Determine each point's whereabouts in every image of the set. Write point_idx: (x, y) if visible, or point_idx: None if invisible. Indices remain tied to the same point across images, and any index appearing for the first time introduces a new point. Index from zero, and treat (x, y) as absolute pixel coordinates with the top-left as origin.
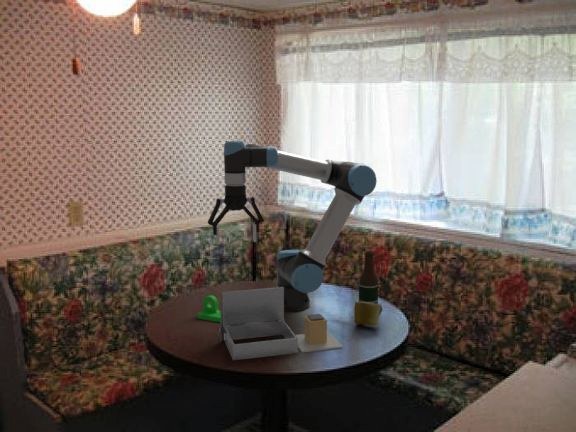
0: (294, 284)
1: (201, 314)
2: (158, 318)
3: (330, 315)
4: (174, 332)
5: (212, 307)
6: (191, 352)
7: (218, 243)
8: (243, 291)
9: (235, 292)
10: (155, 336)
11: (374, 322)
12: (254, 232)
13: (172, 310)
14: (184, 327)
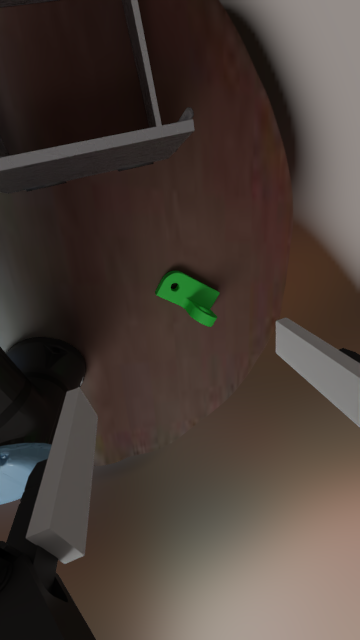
0: None
1: (213, 289)
2: (275, 288)
3: None
4: (254, 217)
5: (197, 305)
6: (225, 82)
7: (283, 321)
8: (116, 135)
9: (146, 129)
10: (285, 197)
11: None
12: (65, 445)
13: (254, 323)
14: (237, 243)
